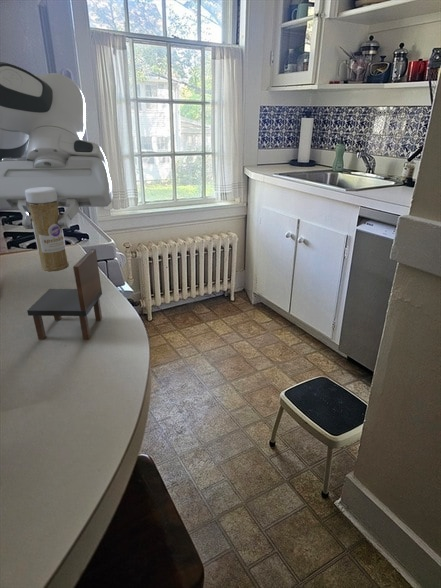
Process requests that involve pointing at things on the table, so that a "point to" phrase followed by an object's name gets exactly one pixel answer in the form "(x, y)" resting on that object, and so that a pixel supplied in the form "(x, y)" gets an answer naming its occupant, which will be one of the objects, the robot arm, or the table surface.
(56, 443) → the table surface
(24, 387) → the table surface
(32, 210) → the sprinkles bottle
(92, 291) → the chair
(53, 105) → the robot arm
